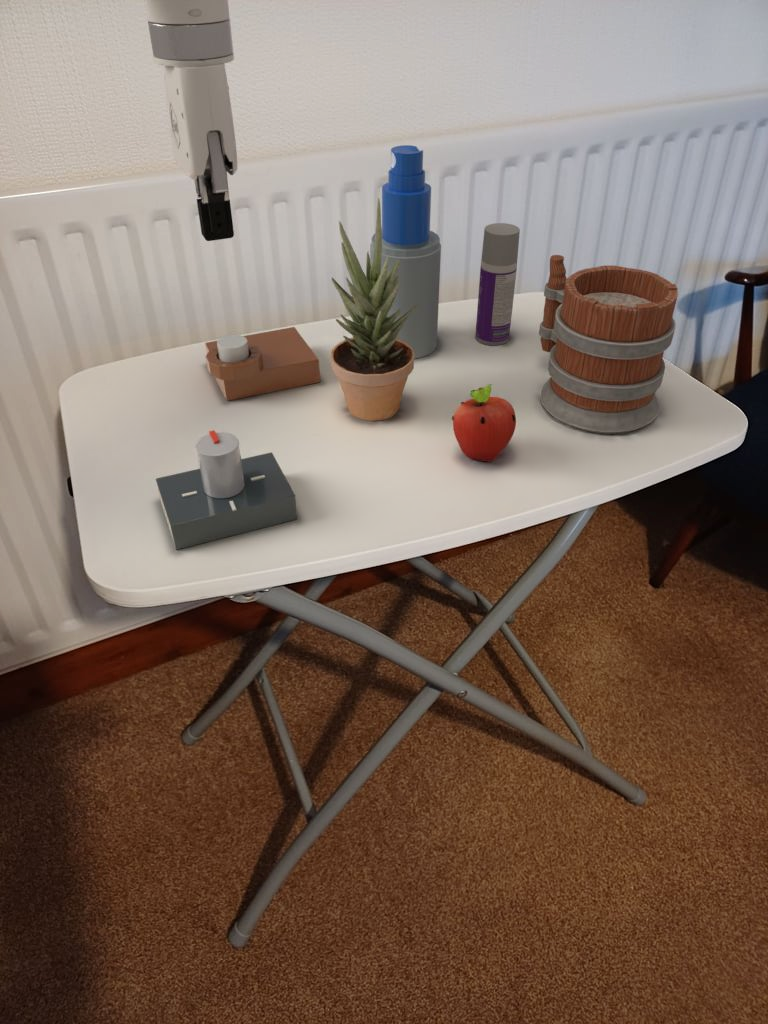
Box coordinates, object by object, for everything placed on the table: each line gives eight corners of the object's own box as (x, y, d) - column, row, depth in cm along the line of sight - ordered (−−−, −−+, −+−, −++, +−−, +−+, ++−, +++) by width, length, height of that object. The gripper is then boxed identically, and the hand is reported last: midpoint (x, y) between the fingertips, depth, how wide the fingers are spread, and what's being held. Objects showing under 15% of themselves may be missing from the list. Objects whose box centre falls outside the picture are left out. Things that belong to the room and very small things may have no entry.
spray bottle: (382, 363, 103) (381, 161, 87) (363, 334, 109) (359, 141, 94) (446, 354, 105) (456, 154, 89) (423, 326, 111) (429, 136, 96)
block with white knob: (219, 408, 94) (213, 371, 91) (198, 366, 102) (193, 331, 99) (323, 386, 98) (321, 350, 95) (296, 348, 106) (293, 313, 103)
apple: (443, 441, 88) (447, 361, 82) (501, 434, 89) (509, 355, 83) (461, 480, 83) (467, 398, 76) (523, 473, 84) (534, 391, 77)
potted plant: (339, 433, 90) (330, 214, 74) (328, 392, 97) (317, 184, 81) (424, 424, 91) (432, 207, 76) (407, 384, 98) (411, 179, 83)
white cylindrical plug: (223, 366, 93) (220, 350, 91) (216, 353, 95) (213, 337, 94) (252, 360, 94) (250, 345, 92) (244, 347, 96) (243, 332, 95)
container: (469, 333, 110) (477, 225, 100) (499, 328, 111) (509, 220, 101) (484, 348, 106) (494, 237, 97) (515, 342, 107) (527, 232, 98)
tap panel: (176, 551, 74) (170, 525, 72) (160, 501, 80) (154, 476, 78) (297, 519, 78) (295, 494, 76) (274, 474, 83) (271, 450, 81)
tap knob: (249, 492, 76) (243, 446, 73) (209, 502, 75) (201, 457, 71) (238, 470, 79) (231, 425, 76) (198, 480, 78) (190, 435, 74)
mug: (587, 447, 87) (612, 322, 78) (493, 372, 101) (504, 258, 91) (683, 418, 92) (717, 296, 83) (581, 350, 106) (600, 239, 96)
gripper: (139, 34, 78) (170, 220, 90) (166, 58, 67) (198, 266, 79) (213, 29, 80) (234, 212, 92) (251, 52, 70) (270, 255, 81)
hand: (218, 236), depth 85 cm, fingers closed
